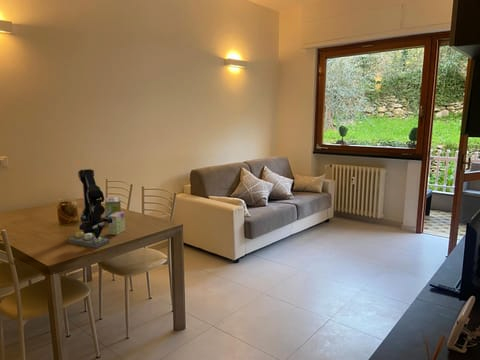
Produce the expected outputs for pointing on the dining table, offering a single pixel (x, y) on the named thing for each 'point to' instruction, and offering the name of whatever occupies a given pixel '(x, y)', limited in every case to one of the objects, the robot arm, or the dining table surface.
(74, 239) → the button panel
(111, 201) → the tea box
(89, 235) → the cream button
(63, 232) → the dining table surface
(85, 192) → the robot arm
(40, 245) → the dining table surface
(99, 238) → the sage button
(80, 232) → the mustard button
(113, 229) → the box
